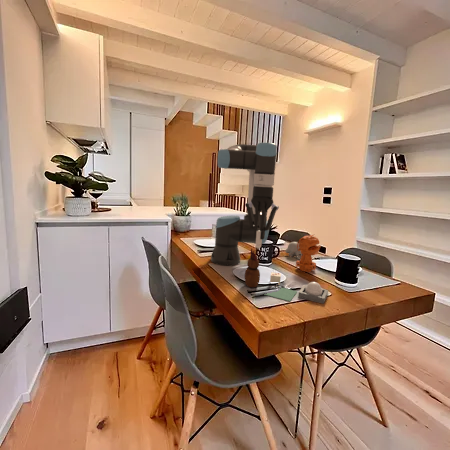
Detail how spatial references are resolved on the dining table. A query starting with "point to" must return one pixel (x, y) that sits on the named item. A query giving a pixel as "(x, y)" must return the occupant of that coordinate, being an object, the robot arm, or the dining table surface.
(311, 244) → the toy dinosaur
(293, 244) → the toy rhinoceros
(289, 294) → the mat
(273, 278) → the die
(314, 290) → the dome
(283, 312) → the dining table surface
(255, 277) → the wooden figurine
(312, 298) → the button housing
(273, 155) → the robot arm
